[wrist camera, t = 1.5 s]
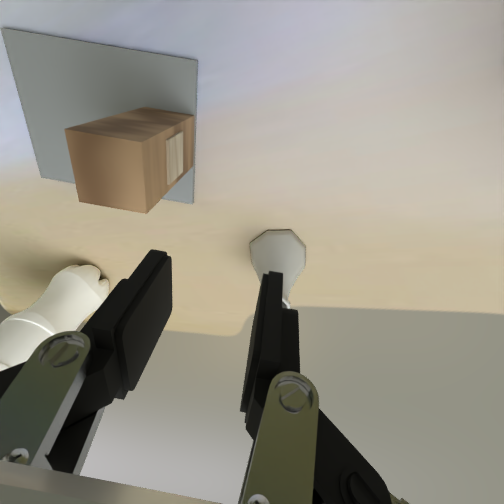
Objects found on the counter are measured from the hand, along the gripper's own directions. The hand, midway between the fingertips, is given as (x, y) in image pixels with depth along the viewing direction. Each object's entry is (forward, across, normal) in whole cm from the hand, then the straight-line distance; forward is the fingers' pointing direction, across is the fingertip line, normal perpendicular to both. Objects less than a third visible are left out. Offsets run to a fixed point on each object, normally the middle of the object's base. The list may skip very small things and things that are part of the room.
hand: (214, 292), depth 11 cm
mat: (+22, +16, 0) cm, 27 cm away
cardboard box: (+22, +10, 0) cm, 24 cm away
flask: (+23, -4, +12) cm, 26 cm away
